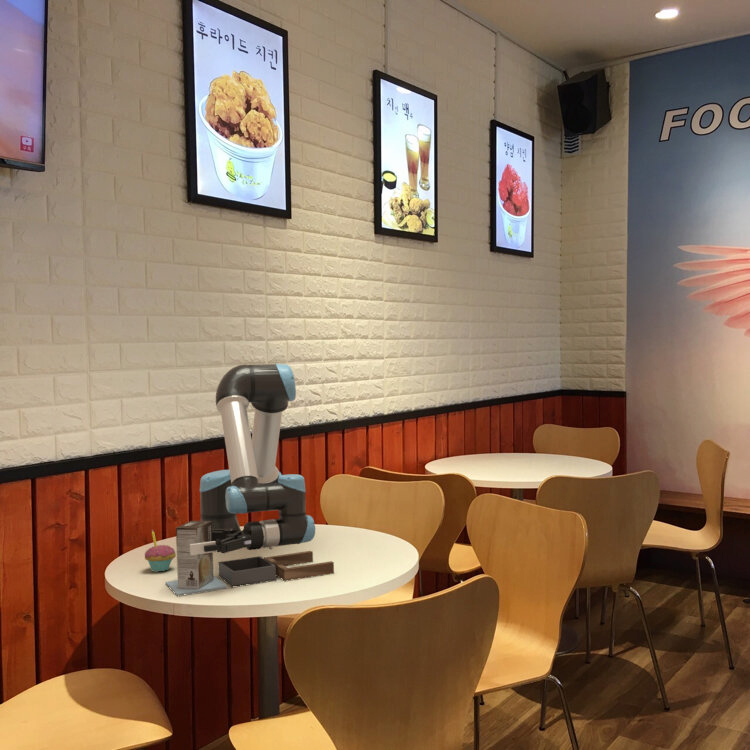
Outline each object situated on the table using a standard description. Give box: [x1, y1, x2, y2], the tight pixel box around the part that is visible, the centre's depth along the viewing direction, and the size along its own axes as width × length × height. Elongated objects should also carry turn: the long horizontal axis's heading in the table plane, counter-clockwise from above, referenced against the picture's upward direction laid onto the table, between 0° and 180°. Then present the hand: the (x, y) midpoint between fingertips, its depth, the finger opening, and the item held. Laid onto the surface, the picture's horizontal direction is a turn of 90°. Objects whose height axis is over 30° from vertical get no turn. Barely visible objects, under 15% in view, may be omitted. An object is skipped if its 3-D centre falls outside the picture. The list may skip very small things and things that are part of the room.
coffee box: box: [175, 520, 214, 589], centre depth 210 cm, size 9×6×16 cm
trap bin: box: [217, 556, 277, 588], centre depth 217 cm, size 12×12×4 cm
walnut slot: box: [263, 550, 335, 581], centre depth 224 cm, size 16×15×3 cm
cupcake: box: [144, 529, 177, 572], centre depth 227 cm, size 9×8×12 cm
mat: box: [165, 575, 228, 597], centre depth 210 cm, size 13×13×1 cm
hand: (183, 544), depth 208 cm, fingers open, 13 cm apart
